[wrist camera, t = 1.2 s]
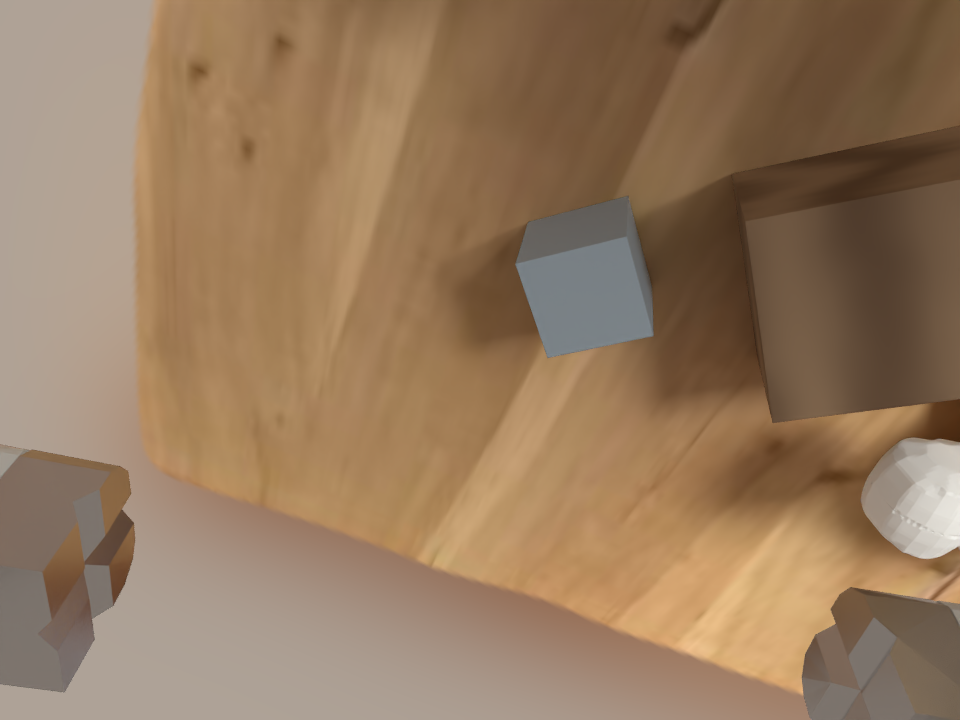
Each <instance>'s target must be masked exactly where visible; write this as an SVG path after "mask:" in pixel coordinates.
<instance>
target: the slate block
mask: <svg viewBox="0 0 960 720" xmlns="http://www.w3.org/2000/svg"><path fill="white" fill-rule="evenodd" d="M516 267H517V270H518V273H519V276H520V279H521V282H522V285H523V288H524V291H525V293H526V296H527V299H528V302H529V305H530V308H531V311H532V314H533V317H534V320H535V322H536V325H537V328H538V331H539V334H540V337H541V340H542V343H543V346H544V349H545V352H546V354H547V357H548V358H550V357H555V356H559V355H564V354H569V353H574V352H579V351H584V350H588V349H593V348H598V347H603V346H608V345H612V344H617V343H622V342H627V341H632V340H637V339H641V338H646V337H651V336H653V298H652V285H651V281H650V277H649V273H648V270H647V266H646V262H645V258H644V254H643V251H642V247H641V243H640V239H639V235H638V232H637V228H636V224H635V220H634V216H633V213H632V209H631V205H630V201H629V197H628V196H626V197H622V198H618V199H614V200H610V201H607V202H603V203H599V204H595V205H591V206H588V207H584V208H580V209H576V210H572V211H568V212H565V213H561V214H557V215H553V216H549V217H546V218H542V219H538V220H534V221H530V222H528V224H527V227H526V231H525V234H524V237H523V241H522V244H521V247H520V250H519V254H518V257H517V260H516Z"/></svg>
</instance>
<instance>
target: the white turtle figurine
mask: <svg viewBox="0 0 960 720" xmlns="http://www.w3.org/2000/svg"><path fill="white" fill-rule="evenodd" d="M861 504H862V508H863V511H864V513H865V514H866V516H867V517H868V519H869V520H870V521H871V522H872V524H873V525H874V526H875V527H876V528H877V530H878V531H879V532H880V533H881V535H882V536H883V537H884V538H886V539H887V540H888V541H890V542H891V543H892V544H893V545H894V546H896V547H897V548H898V549H899V550H900V551H902V552H903V553H907V554H910V555H912V556H915V557H918V558H923V559H931V558H936V557H940V556H942V555H944V554H946V553H948V552H950V551H951V550H953V549H955V548H956V547H958V548H959V550H960V442H955V441H950V440H945V439H935V440H927V439H922V438H916V437H912V438H907V439H903V440H901V441H899V442H898V443H896V444H895V445H894V446H893V447H891V448H890V449H889V450H888V451H887V452H886V453H885V454H884V455H883V456H882V457H881V459H880V460H879V461H878V463H877V464H876V465H875V467H874V469H873V470H872V471H871V473H870V474H869V476H868V478H867V480H866V482H865V485H864V487H863V491H862V496H861Z"/></svg>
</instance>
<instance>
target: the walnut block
mask: <svg viewBox="0 0 960 720" xmlns="http://www.w3.org/2000/svg"><path fill="white" fill-rule="evenodd" d="M732 179H733V186H734V193H735V200H736V207H737V214H738V222H739V229H740V236H741V243H742V250H743V257H744V264H745V272H746V279H747V286H748V293H749V300H750V307H751V314H752V322H753V329H754V336H755V343H756V350H757V357H758V362H759V366H760V370H761V374H762V379H763V383H764V387H765V392H766V396H767V400H768V405H769V409H770V413H771V417H772V422H773V423H777V422H784V421H792V420H800V419H808V418H816V417H824V416H831V415H839V414H847V413H855V412H863V411H871V410H879V409H886V408H894V407H902V406H910V405H918V404H926V403H933V402H941V401H949V400H957V399H960V126H956V127H951V128H947V129H942V130H937V131H933V132H928V133H923V134H918V135H914V136H909V137H904V138H899V139H895V140H890V141H885V142H880V143H876V144H871V145H866V146H862V147H857V148H852V149H847V150H843V151H838V152H833V153H828V154H824V155H819V156H814V157H809V158H805V159H800V160H795V161H791V162H786V163H781V164H776V165H772V166H767V167H762V168H757V169H753V170H748V171H743V172H738V173H734V174H732Z"/></svg>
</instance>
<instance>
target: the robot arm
mask: <svg viewBox="0 0 960 720" xmlns="http://www.w3.org/2000/svg"><path fill="white" fill-rule="evenodd" d="M130 495H131V489H130V481H129V474H128V471H127V470H125V469H124V468H122V467H120V466H115V465H110V464H104V463H100V462H94V461H89V460H84V459H79V458H74V457H68V456H63V455H57V454H53V453H47V452H42V451H37V450H25V449H20V448H16V447H11V446H6V445H0V684H3V685H11V686H18V687H26V688H34V689H42V690H51V691H58V692H65V691H66V689H67V687H68V685H69V684H70V682H71V680H72V678H73V677H74V675H75V673H76V671H77V670H78V668H79V666H80V664H81V662H82V660H83V659H84V657H85V655H86V654H87V652H88V650H89V648H90V647H91V645H92V643H93V641H94V631H93V624H92V618H94V617H96V616H97V615H99V614H101V613H102V612H104V611H105V610H107V609H109V608H111V607H112V606H113V605H114V603H115V602H116V600H117V598H118V596H119V594H120V592H121V590H122V588H123V587H124V585H125V582H126V579H127V576H128V573H129V570H130V566H131V563H132V560H133V554H134V544H135V531H134V523H133V522H132V521H131V519H130V518H129V517H128V516H127V515H126V514H125V513H124V512H123V510H122V508H123V506H124V505H125V503H126V501H127V500H128V498H129V496H130ZM831 611H832V614H833V617H834V620H835V622H836V624H835V625H833V626H831V627H829V628H828V629H826V630H824V631H822V632H820V633H818V634H816V635H815V637H814V639H813V640H812V642H811V644H810V646H809V648H808V650H807V652H806V654H805V659H804V666H803V674H802V683H803V694H804V699H805V702H806V706H807V709H808V713H809V716H810V718H811V719H812V720H960V604H956V603H950V602H943V601H933V600H929V599H923V598H916V597H910V596H903V595H897V594H891V593H884V592H878V591H871V590H865V589H859V588H852V587H850V588H849V589H847V590H846V591H844V592H842V593H841V594H840V595H839V596H838V598H837V600H836V601H835V603H834V605H833V606H832V608H831Z"/></svg>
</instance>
